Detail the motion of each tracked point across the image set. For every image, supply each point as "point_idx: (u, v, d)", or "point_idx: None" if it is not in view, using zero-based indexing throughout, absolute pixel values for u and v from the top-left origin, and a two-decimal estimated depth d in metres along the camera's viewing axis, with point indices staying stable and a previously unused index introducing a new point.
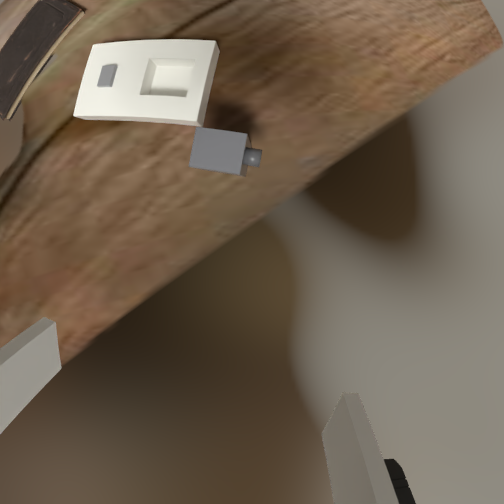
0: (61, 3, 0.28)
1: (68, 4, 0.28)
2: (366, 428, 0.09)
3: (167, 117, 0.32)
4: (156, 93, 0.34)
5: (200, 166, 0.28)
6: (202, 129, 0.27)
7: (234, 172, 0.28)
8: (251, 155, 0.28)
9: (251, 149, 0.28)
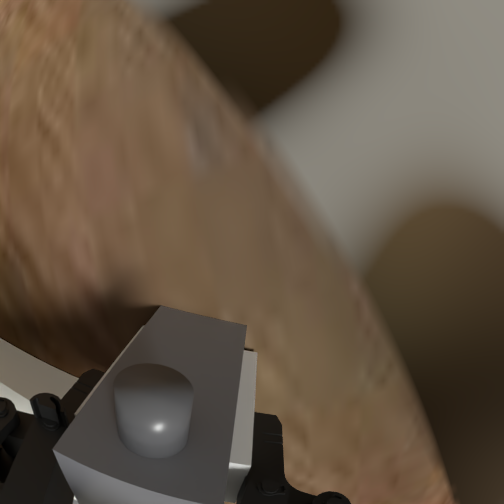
0: None
1: None
2: (250, 380, 0.11)
3: None
4: None
5: None
6: None
7: None
8: (136, 438, 0.05)
9: (118, 422, 0.05)
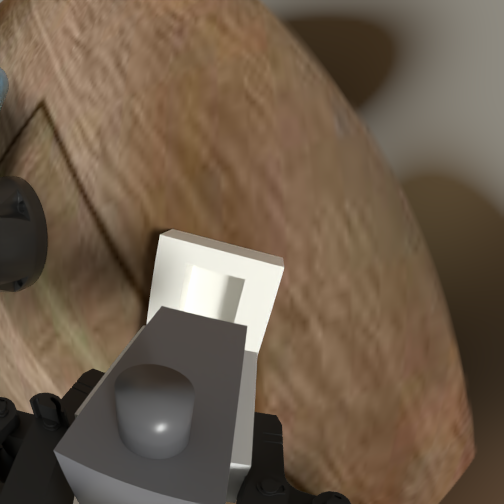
0: None
1: None
2: (250, 380, 0.11)
3: (270, 306, 0.26)
4: (225, 315, 0.30)
5: None
6: None
7: None
8: (138, 438, 0.05)
9: (119, 423, 0.05)
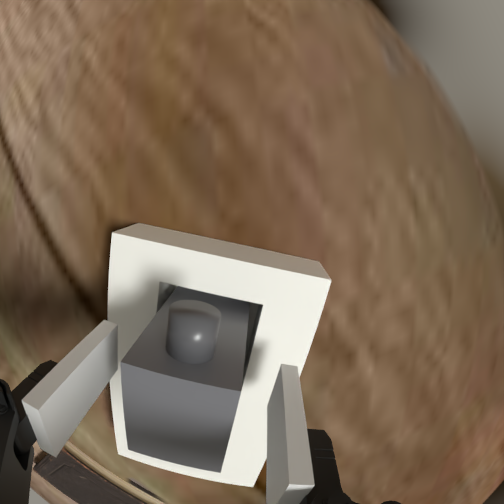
0: (50, 462, 0.23)
1: (51, 456, 0.22)
2: (296, 396, 0.10)
3: (307, 345, 0.15)
4: None
5: (219, 458, 0.09)
6: (131, 442, 0.10)
7: (235, 402, 0.09)
8: (183, 345, 0.09)
9: (169, 339, 0.10)
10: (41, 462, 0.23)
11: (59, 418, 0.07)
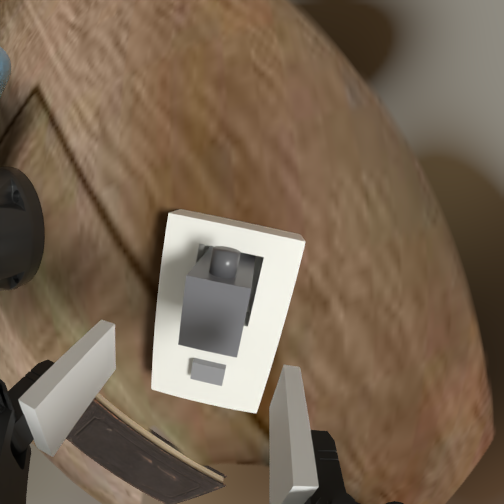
0: (79, 419, 0.32)
1: None
2: (299, 397, 0.10)
3: (292, 285, 0.24)
4: None
5: (237, 342, 0.19)
6: (181, 337, 0.19)
7: (247, 296, 0.18)
8: (220, 266, 0.19)
9: (212, 265, 0.19)
10: None
11: (56, 418, 0.07)
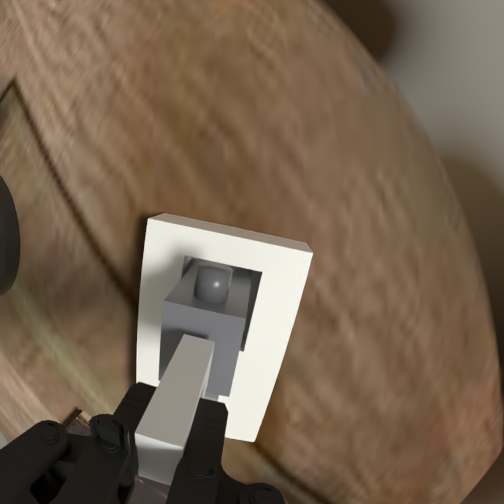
0: None
1: (68, 430, 0.27)
2: (201, 367, 0.11)
3: (296, 304, 0.20)
4: None
5: (229, 381, 0.15)
6: (161, 372, 0.15)
7: (241, 327, 0.14)
8: (207, 289, 0.14)
9: (196, 286, 0.15)
10: None
11: None
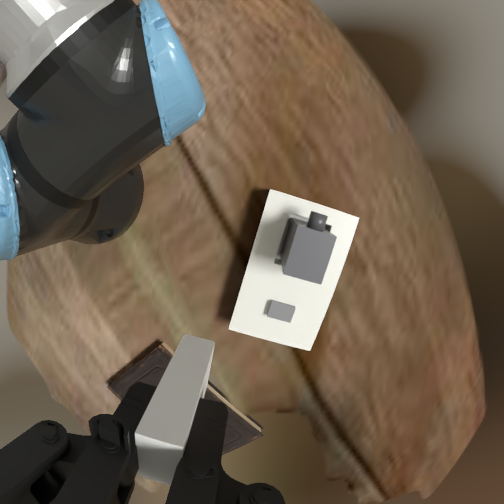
0: (138, 369, 0.42)
1: (144, 361, 0.41)
2: (201, 367, 0.11)
3: (348, 247, 0.34)
4: None
5: (323, 273, 0.29)
6: (286, 268, 0.29)
7: (334, 241, 0.28)
8: (317, 222, 0.29)
9: (310, 221, 0.29)
10: (126, 373, 0.42)
11: None
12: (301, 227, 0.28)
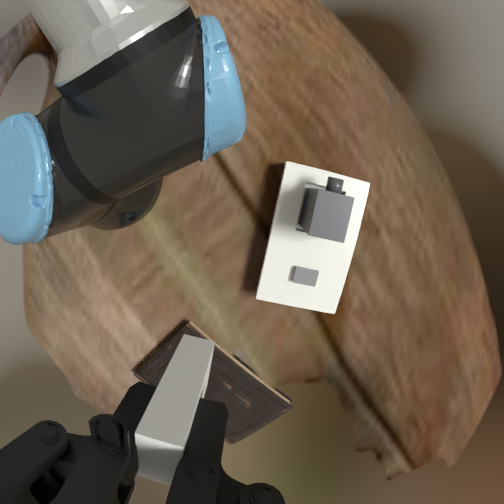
0: (166, 352, 0.44)
1: (172, 342, 0.43)
2: (201, 367, 0.11)
3: (362, 210, 0.36)
4: None
5: (345, 232, 0.31)
6: (311, 229, 0.31)
7: (352, 202, 0.30)
8: (335, 186, 0.31)
9: (329, 186, 0.31)
10: (154, 357, 0.44)
11: None
12: (322, 190, 0.30)
